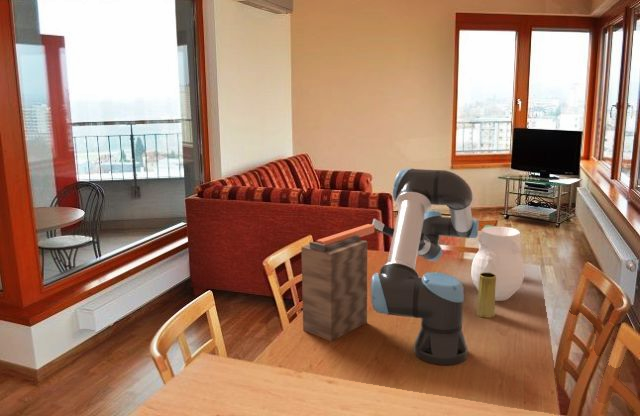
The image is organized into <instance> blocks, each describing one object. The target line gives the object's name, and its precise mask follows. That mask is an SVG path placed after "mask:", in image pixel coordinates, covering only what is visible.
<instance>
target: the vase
mask: <svg viewBox="0 0 640 416" xmlns="http://www.w3.org/2000/svg"><path fill="white" fill-rule="evenodd" d="M495 286H496V275H495V274H493V273H489V272H484V273H480V278H479V291H478V294H477V295H478V296H477V304H476V312H475V313H476V315H477V316H478V317H481V318H485V319H490V318H491V319H492V318H494V317H495V316H496V301H495Z"/></svg>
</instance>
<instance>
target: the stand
mask: <svg viewBox="0 0 640 416" xmlns="http://www.w3.org/2000/svg"><path fill="white" fill-rule="evenodd" d="M300 251H301V286H302V287H301V292H302V294H301V295H302V297H301V298H302V331H303V332H306V333H309V334H312V335H315V336H316V337H320V338H322V339H325V340H328V342H329V341H330V342H332V341H335V340H337V339H338V338H340V337H343V336H344V335H346V334H348V333H350V332H352V331H353V330H355V329H358V328H359V327H363V325H365V324H367V323H368V241H367V240H363V239H361V237H360V236H354V237H351V238H348V239H345V240H342V241H339V242H336V243H333V244H330V245H327V246H326V245H324V244H320V243H317V241H316V242H314V241H309V244H306V245H304V246H301V249H300Z"/></svg>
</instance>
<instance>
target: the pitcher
mask: <svg viewBox="0 0 640 416" xmlns="http://www.w3.org/2000/svg"><path fill="white" fill-rule="evenodd" d="M493 226H494V227H485V228H484V227H483V228H481V230H480V231H481V233H480V234H478V236H477V239H478V242H479V245H481V248H480V250H479V249H478V251H477V252H476V254H474V255H475V256H473V257H474V258H473V260H472V263H471V268H470V269H471V271H470V272H471V273H470V275H471V279H472V283H473V285H474V286H475V288H476V290H477V292H479V278H480V273H484V272H489V273H493V274H495V275H496V286H495V302H504V301H507V300H509V299H510V298H511V297H512V296H513V295H514V294H515V293H516V292H517V291H518V290H519V289H520V287H521V286H522V283H524V282H523V281H524V278H525V263H524V260H523V257H522V254H521V251H522V246H523V245H522V243H521V241H520V237H521V232H520V231H519V230H518V229H517V228H513V227H509V226H508V227H507V226H495V225H493Z"/></svg>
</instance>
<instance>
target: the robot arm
mask: <svg viewBox="0 0 640 416" xmlns="http://www.w3.org/2000/svg"><path fill="white" fill-rule="evenodd" d="M392 199H393V201H394V202H395V204H396V206H397V208H398V212H397V216H396V220H395V225H394V228H392V227H391V226H387V225H385V224H384V223H383V222H381V221H379V220H378V219H376V218H373V219H372V223H371V225H374V229H375V231H376V232H378V233H379V234H380V233H382V234H384V235H386V236H389V237H391V239H392V240H391V243H390V248H389V254H388V258H387V262H386V263H385V264H382V266H381V267H380V271H379V272H375V273H373V274H372V276H371V282H370V283H371V284H370V296H371V304H372V308H373V310H374V311H375V312H376V313H378V314H384V315H387V316H396V317H405V318H412V319H413V318H415V319H420V320H421V321H420V323H421V324H420V329H419V331H418V334H417V336H416V338H415V341H414V348H413V349H414V354H415V355H416V357H418V358H419V359H420V360H421V361H423V362H427V363H429V364H432V365H439V366H451V365H452V366H453V365H458V364H461V363H462V362H464V361H465V360H466V359H467V356H468V346H467V342H466V340H465V339H466V338H465V336H464V333H463V313H464V312H463V311H464V301H465V296H464V285H463V283H462V281H461V280H459V279H458V278H456V277H455V276H453V275H450V274H447V273H443V272H437V271H434V272H429V271H428V272H426V273H424V274H423V276H422V277H419V276H420V274H419V273H418V271H417V270H416V265H417V264H416V263H417V259H418V256H420V257H421V258H422V259H424V260H426V261H429V262H436V261H438V260H439V259H440V258H441V257H442V255H443V248H442V246H441V245H439V244H440V243H439V242H440V237H452V238H453V237H454V238H464V239H476V238H478V237H479V227H480V224H479V222H480V221H479V220H478V219H474V218H473V216H472V208H471V207H472V206H471V203H472V202H473V193H472V188H471V186H470V184H469V183H468V182H467V181H466V180H465V179H463V177H461V176H459V174H456V173H454V172H453V171H449V170H445V169H421V168H419V169H418V168H417V169H416V168H405V169H400V170H399V171H398V172H397V174H396V176H395V178H394V181H393V188H392ZM433 205H434V206H437V205H438V206H446V207H448V209H449V214H450V216H449V217H448V216H443V215H442V214H443V213H441V211H439V210H434V209H431V208H432V206H433Z"/></svg>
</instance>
